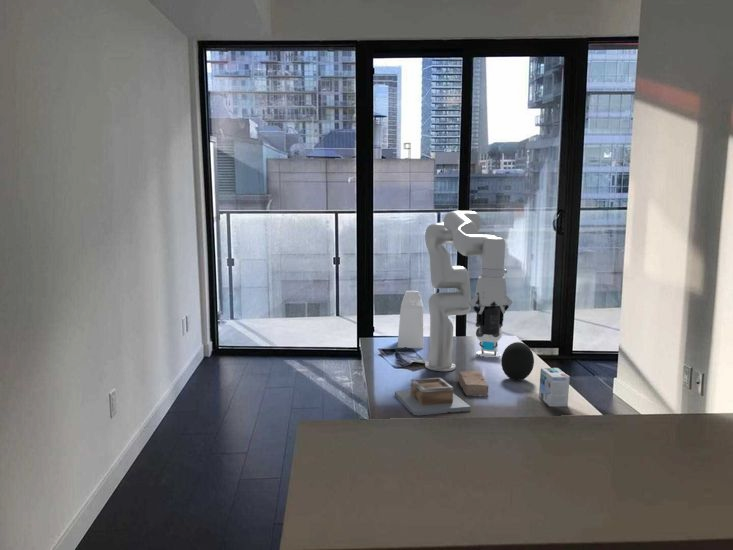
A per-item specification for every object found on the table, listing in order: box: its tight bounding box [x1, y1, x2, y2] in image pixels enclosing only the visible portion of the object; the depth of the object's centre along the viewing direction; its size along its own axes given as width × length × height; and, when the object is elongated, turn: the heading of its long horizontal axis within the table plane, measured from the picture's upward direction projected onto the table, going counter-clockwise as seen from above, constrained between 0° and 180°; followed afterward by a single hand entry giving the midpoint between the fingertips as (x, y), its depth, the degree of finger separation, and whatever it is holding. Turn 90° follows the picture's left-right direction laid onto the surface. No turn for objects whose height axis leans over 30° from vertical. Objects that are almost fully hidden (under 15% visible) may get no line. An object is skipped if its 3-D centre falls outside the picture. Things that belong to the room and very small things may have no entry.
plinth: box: [410, 377, 454, 405], centre depth 207 cm, size 11×11×6 cm
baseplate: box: [394, 389, 472, 416], centre depth 207 cm, size 20×20×2 cm
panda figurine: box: [475, 322, 504, 358], centre depth 272 cm, size 12×11×15 cm
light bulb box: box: [538, 367, 571, 407], centre depth 211 cm, size 11×7×11 cm, turn 5°
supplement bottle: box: [480, 302, 500, 335], centre depth 207 cm, size 7×7×12 cm
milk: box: [397, 290, 424, 349], centre depth 285 cm, size 12×12×26 cm
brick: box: [458, 370, 489, 397], centre depth 224 cm, size 17×8×5 cm, turn 1°
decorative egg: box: [500, 341, 535, 381], centre depth 235 cm, size 12×12×15 cm
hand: (489, 324), depth 207 cm, fingers closed on supplement bottle, 6 cm apart
